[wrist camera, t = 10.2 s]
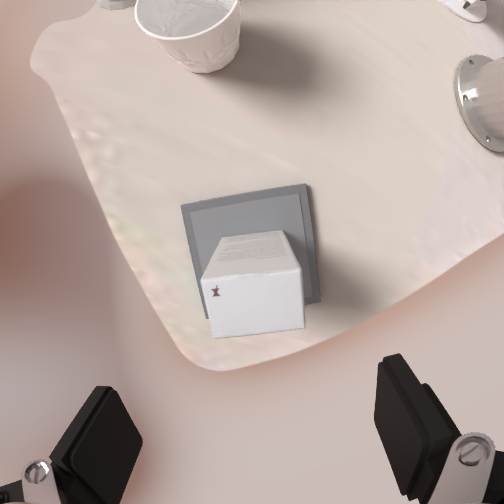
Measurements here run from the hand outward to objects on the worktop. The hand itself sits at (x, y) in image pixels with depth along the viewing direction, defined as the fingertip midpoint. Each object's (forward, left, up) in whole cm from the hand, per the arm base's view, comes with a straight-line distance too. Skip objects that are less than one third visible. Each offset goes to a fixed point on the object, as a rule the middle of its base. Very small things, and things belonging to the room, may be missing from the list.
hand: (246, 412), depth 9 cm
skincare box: (0, 0, -21) cm, 21 cm away
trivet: (0, 0, -22) cm, 22 cm away
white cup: (+1, -22, -22) cm, 31 cm away
